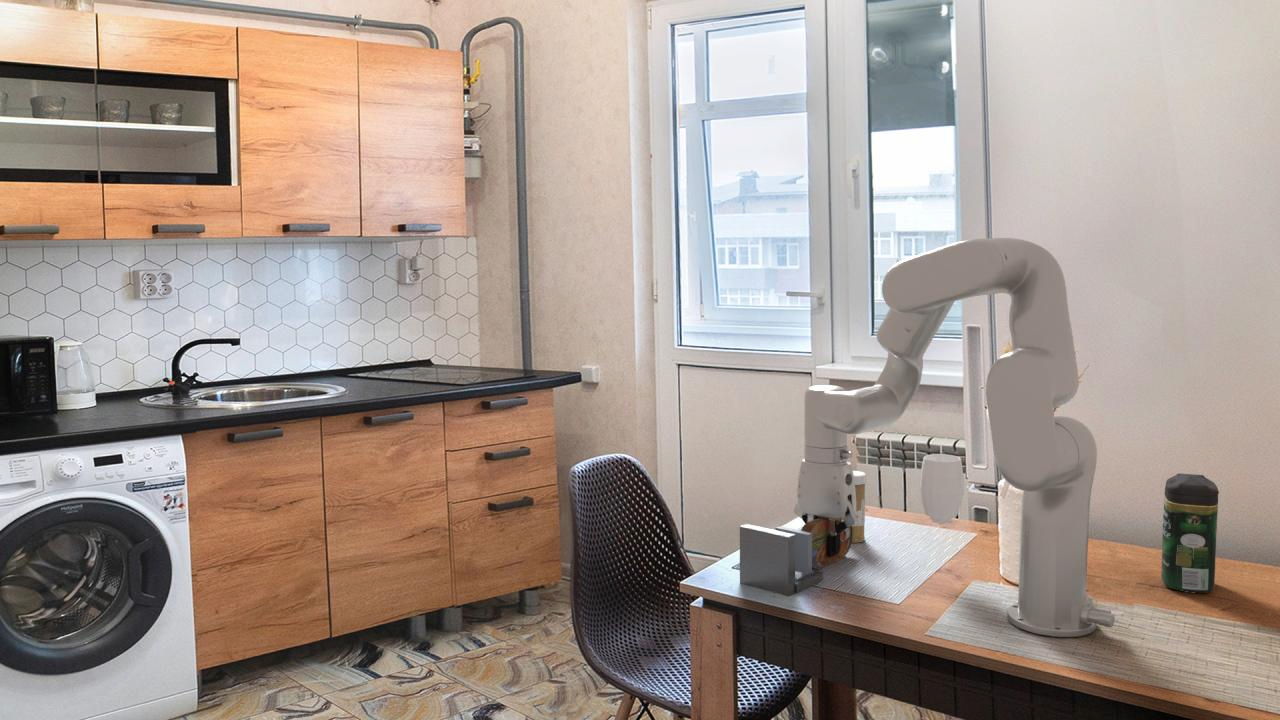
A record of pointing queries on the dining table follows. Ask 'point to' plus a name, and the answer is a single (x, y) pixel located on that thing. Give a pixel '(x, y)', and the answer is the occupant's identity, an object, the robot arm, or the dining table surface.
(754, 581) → the frame
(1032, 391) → the robot arm
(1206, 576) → the coffee jar
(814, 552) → the tin
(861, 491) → the sprinkles bottle
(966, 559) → the dining table surface
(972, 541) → the dining table surface
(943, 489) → the cup
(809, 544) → the gauge carriage
